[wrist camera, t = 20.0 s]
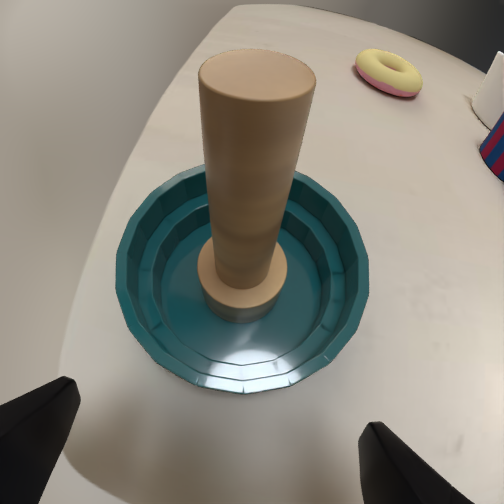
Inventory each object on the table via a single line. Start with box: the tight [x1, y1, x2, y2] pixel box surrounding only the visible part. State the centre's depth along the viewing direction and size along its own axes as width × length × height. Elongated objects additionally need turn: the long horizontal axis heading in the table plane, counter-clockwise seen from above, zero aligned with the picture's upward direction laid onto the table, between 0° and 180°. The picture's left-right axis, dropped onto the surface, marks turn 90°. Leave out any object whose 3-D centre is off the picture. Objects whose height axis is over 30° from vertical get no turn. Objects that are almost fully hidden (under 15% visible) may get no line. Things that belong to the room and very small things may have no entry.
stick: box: [197, 49, 316, 323], centre depth 11 cm, size 4×4×13 cm
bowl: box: [115, 164, 369, 394], centre depth 16 cm, size 12×12×4 cm
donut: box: [355, 49, 423, 97], centre depth 30 cm, size 10×5×9 cm
